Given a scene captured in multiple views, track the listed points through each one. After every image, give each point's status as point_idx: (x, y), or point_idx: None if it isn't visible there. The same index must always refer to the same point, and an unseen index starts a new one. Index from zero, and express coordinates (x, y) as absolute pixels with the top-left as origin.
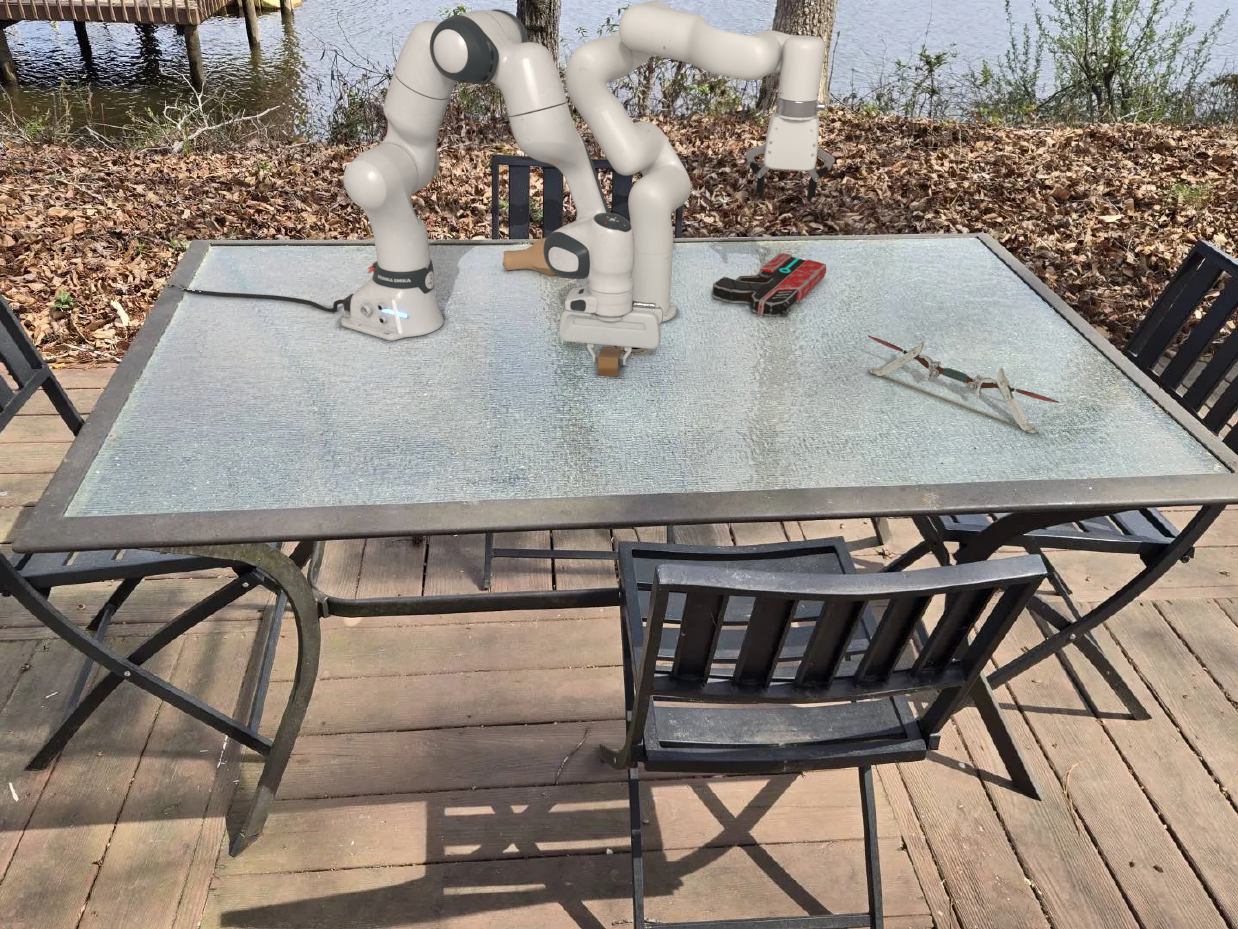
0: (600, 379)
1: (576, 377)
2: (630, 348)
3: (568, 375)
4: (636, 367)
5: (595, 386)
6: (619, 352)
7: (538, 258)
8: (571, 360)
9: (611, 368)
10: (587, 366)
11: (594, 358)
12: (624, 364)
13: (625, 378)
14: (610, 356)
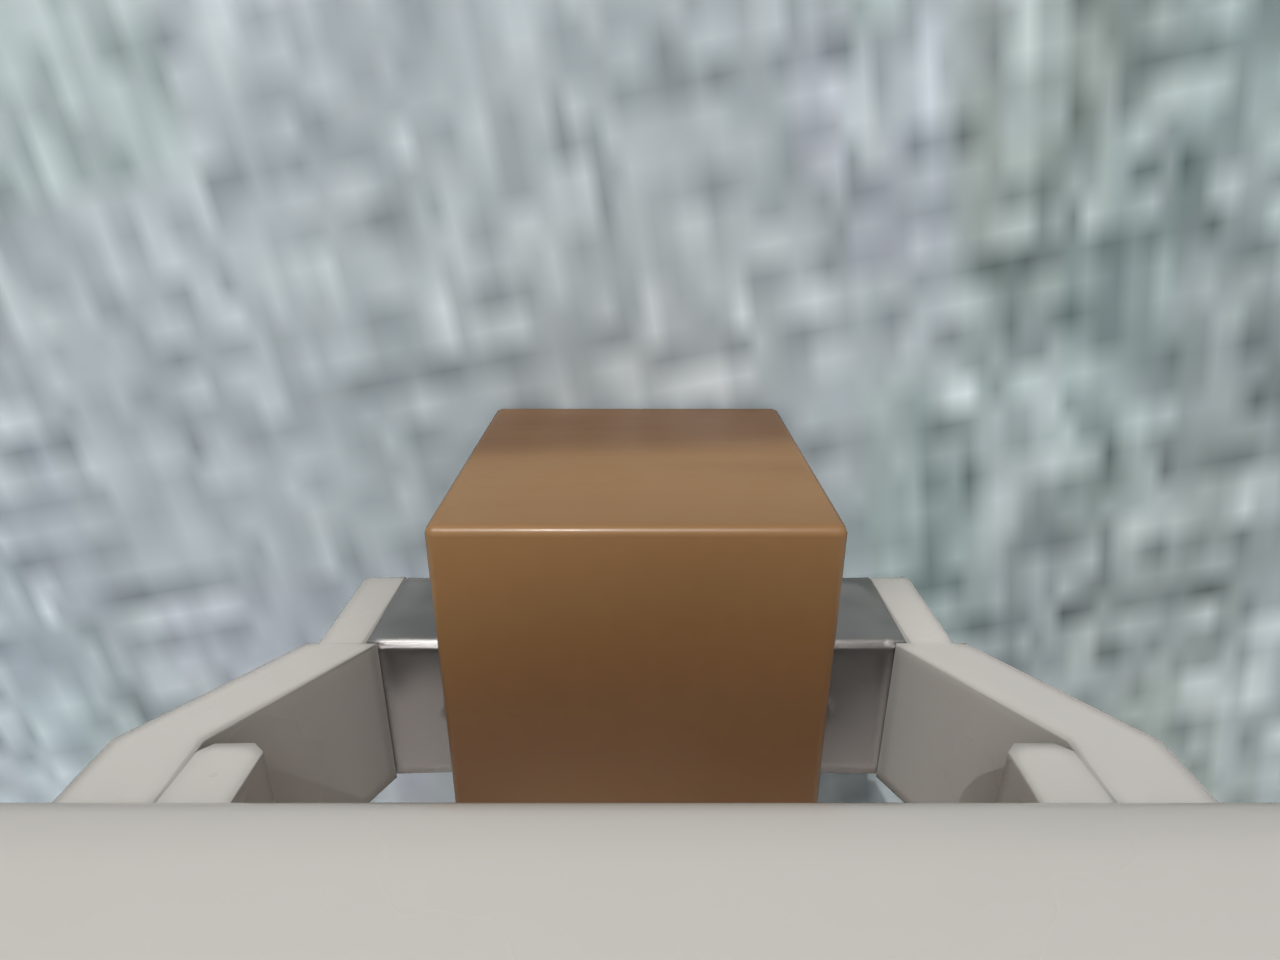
0: (724, 288)
1: (1087, 283)
2: (80, 799)
3: (1205, 323)
4: None
5: (777, 27)
6: (457, 776)
7: None
8: (1135, 716)
9: (572, 447)
10: (932, 612)
11: (895, 609)
12: (380, 578)
13: (375, 387)
14: (595, 605)
